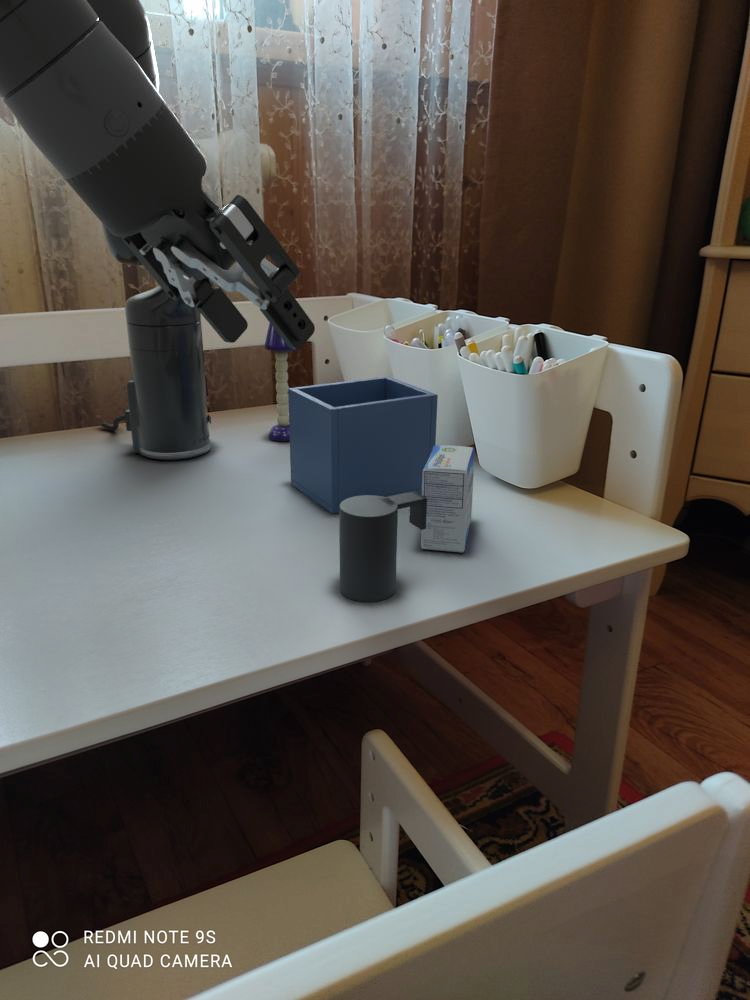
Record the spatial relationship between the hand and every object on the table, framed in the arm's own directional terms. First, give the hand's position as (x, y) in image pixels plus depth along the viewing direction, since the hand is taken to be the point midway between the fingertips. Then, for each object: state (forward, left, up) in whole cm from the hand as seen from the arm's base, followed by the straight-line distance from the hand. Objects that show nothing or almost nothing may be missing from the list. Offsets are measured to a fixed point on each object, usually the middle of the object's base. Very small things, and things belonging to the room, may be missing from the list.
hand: (269, 337), depth 55 cm
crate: (-1, +31, -23) cm, 39 cm away
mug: (+7, +8, -23) cm, 25 cm away
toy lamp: (-17, +48, -23) cm, 56 cm away
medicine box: (+11, +20, -23) cm, 32 cm away
